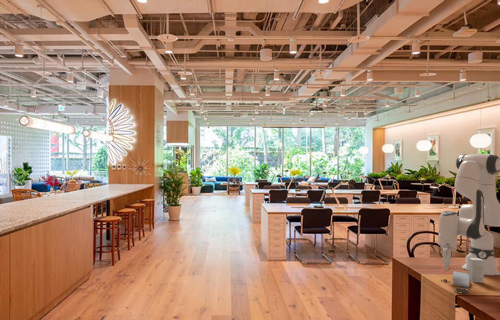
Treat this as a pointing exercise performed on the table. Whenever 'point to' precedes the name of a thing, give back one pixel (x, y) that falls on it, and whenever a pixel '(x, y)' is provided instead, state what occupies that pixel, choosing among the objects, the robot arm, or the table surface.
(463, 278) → the ramp
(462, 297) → the table surface
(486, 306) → the table surface
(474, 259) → the skincare box
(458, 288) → the rail
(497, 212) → the robot arm
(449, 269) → the ball
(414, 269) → the table surface
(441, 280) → the stand
